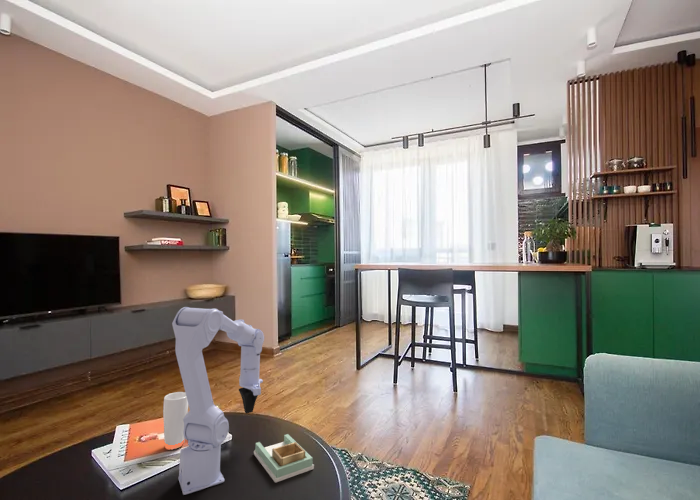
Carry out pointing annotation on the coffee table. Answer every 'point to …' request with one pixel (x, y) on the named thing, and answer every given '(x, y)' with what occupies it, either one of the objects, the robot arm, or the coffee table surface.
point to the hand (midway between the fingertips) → (248, 412)
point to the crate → (288, 454)
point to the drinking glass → (174, 417)
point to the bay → (286, 470)
